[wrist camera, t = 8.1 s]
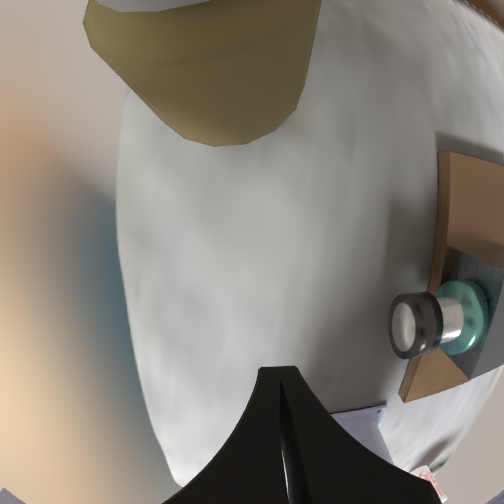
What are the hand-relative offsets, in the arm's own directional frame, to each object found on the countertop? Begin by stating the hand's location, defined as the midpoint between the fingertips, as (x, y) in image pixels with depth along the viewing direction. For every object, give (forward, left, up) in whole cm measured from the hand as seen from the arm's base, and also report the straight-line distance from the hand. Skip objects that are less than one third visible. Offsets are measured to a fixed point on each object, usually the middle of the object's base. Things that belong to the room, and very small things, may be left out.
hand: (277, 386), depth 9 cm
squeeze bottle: (-2, +13, -10) cm, 16 cm away
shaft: (+15, -1, -7) cm, 17 cm away
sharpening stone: (+18, -1, -9) cm, 20 cm away
